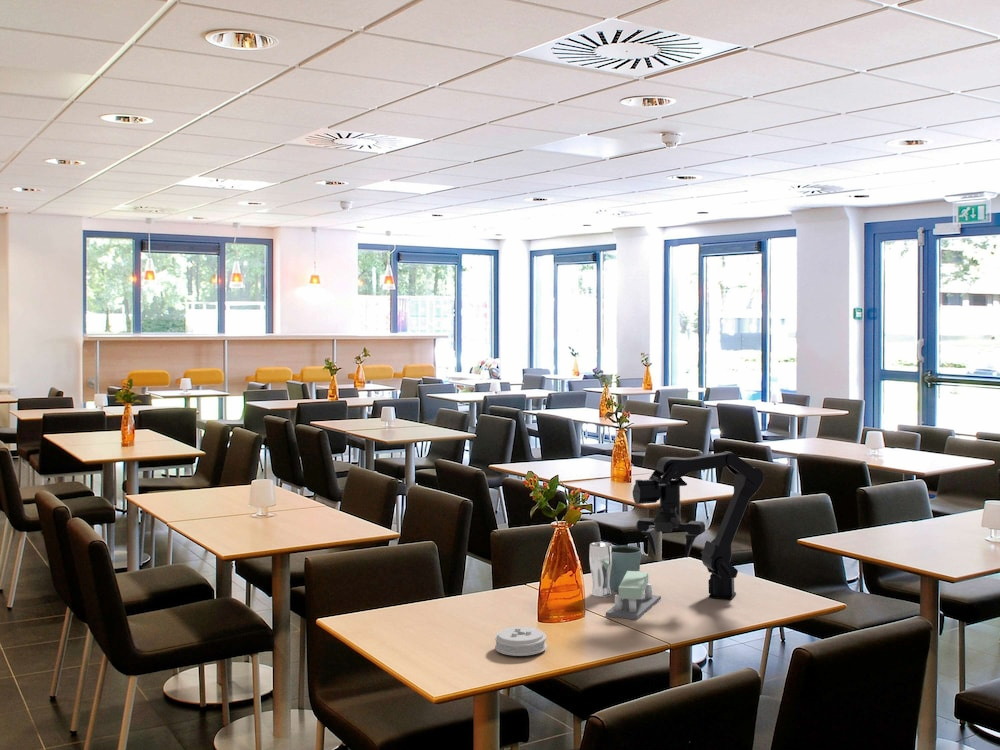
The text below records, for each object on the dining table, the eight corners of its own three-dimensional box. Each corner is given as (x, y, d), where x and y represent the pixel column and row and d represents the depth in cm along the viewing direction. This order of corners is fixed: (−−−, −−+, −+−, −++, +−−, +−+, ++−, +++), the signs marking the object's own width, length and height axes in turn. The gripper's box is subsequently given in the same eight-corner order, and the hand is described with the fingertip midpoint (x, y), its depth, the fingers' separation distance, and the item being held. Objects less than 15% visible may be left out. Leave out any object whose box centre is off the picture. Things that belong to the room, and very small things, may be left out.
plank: (648, 581, 267) (648, 571, 267) (640, 599, 250) (640, 588, 250) (627, 581, 269) (627, 570, 269) (618, 598, 251) (618, 587, 251)
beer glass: (615, 597, 270) (613, 546, 269) (591, 598, 270) (589, 547, 269) (612, 591, 277) (611, 541, 276) (589, 591, 277) (588, 542, 276)
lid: (554, 655, 222) (553, 635, 222) (503, 662, 219) (503, 641, 219) (536, 640, 235) (536, 620, 234) (489, 646, 231) (488, 626, 231)
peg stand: (660, 599, 267) (660, 582, 267) (637, 619, 248) (636, 601, 248) (631, 596, 271) (630, 579, 271) (605, 616, 252) (605, 597, 252)
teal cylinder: (605, 584, 284) (604, 546, 284) (637, 583, 285) (636, 544, 285) (612, 593, 274) (611, 553, 274) (645, 591, 275) (644, 551, 275)
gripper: (629, 504, 261) (630, 559, 261) (694, 508, 252) (695, 565, 253) (642, 498, 271) (643, 551, 271) (705, 501, 262) (706, 556, 263)
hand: (671, 556), depth 264 cm, fingers open, 9 cm apart
